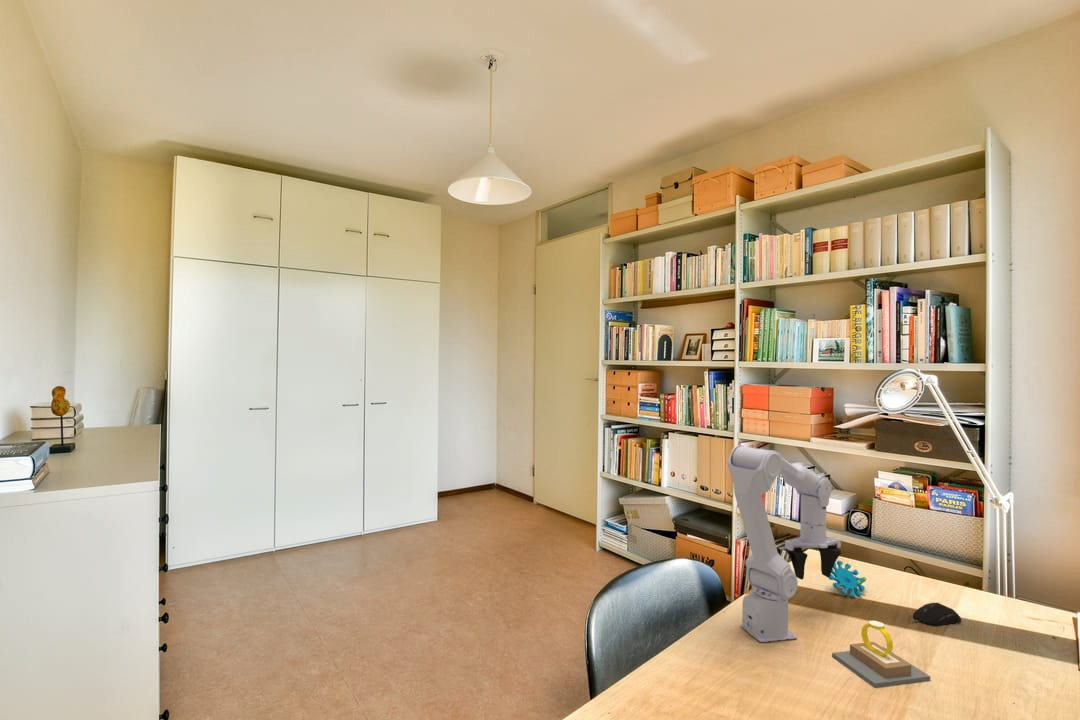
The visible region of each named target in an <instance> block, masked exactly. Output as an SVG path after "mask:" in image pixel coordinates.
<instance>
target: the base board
mask: <svg viewBox="0 0 1080 720" xmlns="http://www.w3.org/2000/svg"><path fill="white" fill-rule="evenodd" d="M869 642H870V643H871V645H872V646H873V647H874V648H876V649H878V650H880V651H881V652H883V653H885V651H886V649H887V647H886V648H885V646H881V645H880V644H878V643H877V642H875V641H869ZM831 657H832V658H833V659H835V660H836V661H837V662H838V663H840V664H842V665H843V666H844V667H846V668H847V669H848V670H850V671H851V672H852V673H854V674H855V675H856V676H857V677H859V678H861V679H862V680H863V681H865V682H866V683H868V684H869V685H870V686H872V687H873V688H883V687H889V686H890V687H891V686H898V685H899V686H900V685H906V684H914V683H922V682H929V681H931V675H929V674H927V673H925V672H924V671H923V670H921V669H919V668H918V667H916V665H913V664H912V663H910V662H908V661H906V660H905V659H903V658H902V657H900V656H899V655H897V654H895V653H894V652H893V651H891V653H890V654H888V655H884V656H880V655H878V654H877V653H875V652H873V651H871V650H869V649H868V648H867V647H866V645H865V644H864V642H859V643H850V644H849V650H846V651H838V652H837V651H836V652H831Z"/></svg>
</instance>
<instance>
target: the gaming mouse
mask: <svg viewBox="0 0 1080 720" xmlns="http://www.w3.org/2000/svg"><path fill="white" fill-rule="evenodd" d="M912 619H914V621H913V622H911V623H913V624H919V623H920V622H921V623H920V624H922V623H924V624H923V625H925V624H926V626H929V625H930V626H929V627H944V626H943V625H946V626H950V625H949V624H954V625H957V624H956V623H958V624H960V623H961V622H962V618H961V616H960V615H959V614H958V613H957V611H956V610H954V609H953V608H951V607H950V606H949V607H948V606H946V605H944V604H941V602H940V603H939V602H930V603H926V604H923V605H922V606H920V607H919V608H918V609H916V610H915V611H914V613H913V614H912ZM916 620H917V621H916ZM918 622H919V623H918ZM959 622H960V623H959Z"/></svg>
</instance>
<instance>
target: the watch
mask: <svg viewBox="0 0 1080 720" xmlns="http://www.w3.org/2000/svg"><path fill="white" fill-rule="evenodd" d="M869 627H870V628H871V629H874V630H876V631H877V630H879V631H880V633H881V634H882V635H883V637H884V639H885V641H886V651H885V653H883V652H881V651H880V650H878V649H876V648H874V647H873V646H872V645H871V643H870V642H871V641H870V639H869V636H868V629H869ZM860 635H861V638H862V643H864V644H865V645H866V647H867V648H868V649H869V650H871V651H873V652H875V653H877V654H878V655H880V656H884V655H888V654H890V653H891V652H893V648H894V646H893V645H894V644H893V639H892V637H891V635H890V633H889V631H888V630H887V629H886V627H885V624H884V623H883V622H881V621H878V620H869V621H868V623H866V624H864V625H863V626H862V628H861V633H860Z"/></svg>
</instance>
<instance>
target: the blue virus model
mask: <svg viewBox="0 0 1080 720" xmlns="http://www.w3.org/2000/svg"><path fill="white" fill-rule="evenodd" d="M842 565H844V567H842ZM851 568H852V565H851V564H849V563H848V562H847V563H846V564H844V562H843V561H841V560H836V562H835V564H834V566H833V569H832V572H831V575H830V577H827V578H828V579H829V580H830V581H835V582H833V583H832V586H833V587H834V589H838V588H840V587H841V588H842V589H841V590H840V591H839V592H840V593H841V594H842V595H844V596H845V595H847V594H848V590H849V591H850V593H849V594H848V596H849V597H850V598H852V599H855V598H856V596H857V597H861V596H863V591H864V590H865V589H866V586H864V585H863V583H865V582H866V581H867V578H866V577H865V576H863V577H858V576H857V575H859V574H860V573H859V571H858V570H857V569H854V570H849V569H851Z"/></svg>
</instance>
